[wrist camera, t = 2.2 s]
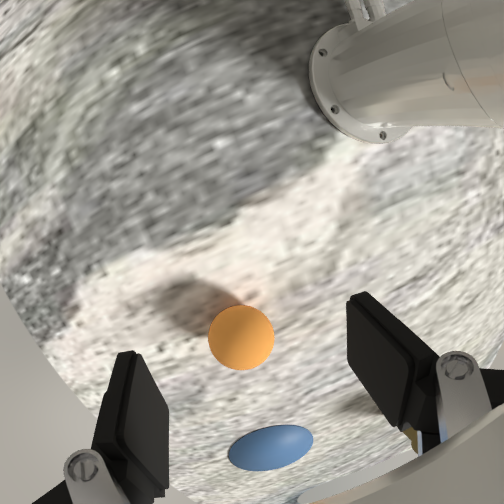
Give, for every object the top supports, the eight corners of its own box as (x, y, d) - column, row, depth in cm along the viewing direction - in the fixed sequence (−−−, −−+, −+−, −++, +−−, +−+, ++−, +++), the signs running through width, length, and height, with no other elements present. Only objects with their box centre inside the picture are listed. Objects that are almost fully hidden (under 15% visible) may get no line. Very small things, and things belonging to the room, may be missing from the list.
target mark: (219, 438, 35) (219, 439, 35) (310, 414, 37) (311, 415, 37) (239, 476, 40) (239, 477, 40) (314, 456, 41) (314, 457, 41)
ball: (199, 302, 28) (201, 337, 23) (260, 287, 29) (276, 319, 23) (214, 350, 30) (220, 389, 25) (270, 336, 31) (285, 373, 25)
